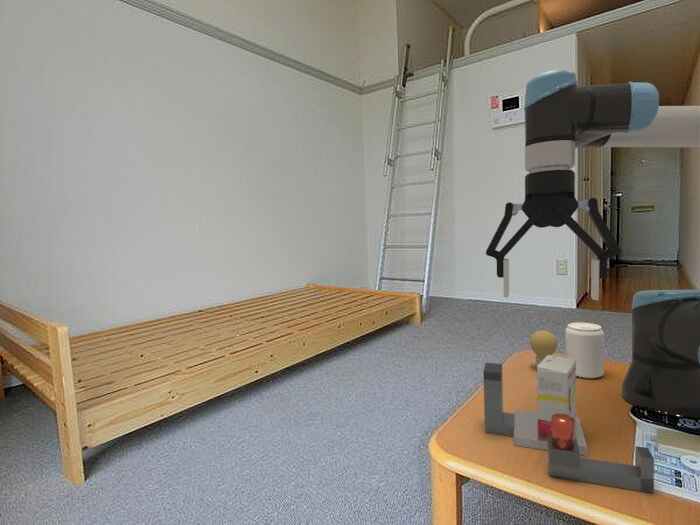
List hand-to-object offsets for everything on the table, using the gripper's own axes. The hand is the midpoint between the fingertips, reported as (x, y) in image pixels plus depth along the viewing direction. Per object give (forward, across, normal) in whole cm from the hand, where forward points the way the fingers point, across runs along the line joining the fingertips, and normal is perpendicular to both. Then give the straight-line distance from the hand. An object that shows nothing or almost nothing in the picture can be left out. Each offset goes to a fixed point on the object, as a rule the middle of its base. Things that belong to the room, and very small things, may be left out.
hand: (548, 297), depth 70 cm
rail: (+25, -6, +10) cm, 28 cm away
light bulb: (+25, 0, -36) cm, 44 cm away
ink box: (+24, -2, -1) cm, 24 cm away
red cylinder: (+23, -2, +10) cm, 25 cm away
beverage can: (+25, -10, -35) cm, 44 cm away
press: (+25, +3, -1) cm, 25 cm away
